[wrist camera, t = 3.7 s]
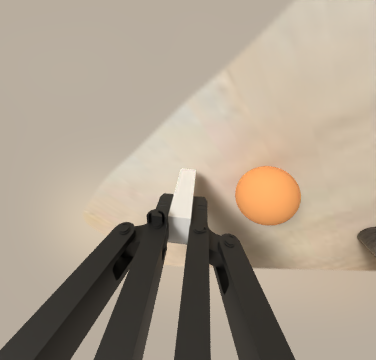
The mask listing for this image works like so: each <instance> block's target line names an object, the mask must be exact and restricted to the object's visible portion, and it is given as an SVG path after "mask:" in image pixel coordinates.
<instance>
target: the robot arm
mask: <svg viewBox="0 0 376 360" xmlns="http://www.w3.org/2000/svg"><path fill="white" fill-rule="evenodd" d="M195 174H196V170H193V169H184V168H181V170H180V174H179V178H178V181H177V185H176V189H175V192H174V194H166V193H164V194H163V195H162V196H161V197H160V199H159V202H158V204H157V207H156V209H154V210H151V211H150V212H148V214H147V224H145V225H141V226H134V225H133V224H132V223H129V222H124V223H121V224H119V225H117V226H116V227H115V228H114V229H113V230H112V231H111V232H110V234H109V235H108V236H107V237H106V238H105V239H104V240H103V241H102V242H101V243H100V244H99V245H98V246H97V248H96V249H95V250H94V251H93V252H92V253H91V254H90V255H89V256H88V257H87V258H86V259H85V260H84V261H83V263H81V265H80V266H79V267H78V268H77V269H76V270H75V271H74V272H73V273H72V274H71V275H70V276H69V277H68V278H67V279H66V281H65V282H64V283H63V284H62V285H61V286H60V287H59V288H58V289H57V290H56V291H55V292H54V294H52V296H51V297H50V298H49V299H48V300H47V301H46V302H45V303H44V304H43V305H42V306H41V307H40V308H39V310H38V311H37V312H36V313H35V314H34V315H33V316H32V317H31V318H30V319H29V320H28V321H27V322H26V323H25V324H24V325H23V326H22V328H21V329H20V330H19V331H18V332H17V333H16V334H15V335H14V336H13V337H12V338H11V339H10V340H9V342H7V344H6V345H5V346H4V347H3V348H2V349H1V350H0V360H70V359H71V358H72V356H73V355H74V353H75V352H76V350H77V348H78V347H79V345H80V344H81V342H82V341H83V339H84V338H85V336H86V335H87V333H88V332H89V330H90V328H91V327H92V325H93V324H94V322H95V321H96V319H97V318H98V316H99V315H100V313H101V312H102V310H103V309H104V307H105V306H106V304H107V302H108V301H109V300H110V298H111V296H112V295H113V293H114V292H115V290H116V289H117V287H118V286H119V284H120V283H121V281H122V280H123V278H124V277H125V275H126V273H127V272H128V270H129V272H128V274H127V277H126V279H125V282H124V284H123V287H122V289H121V292H120V295H119V297H118V300H117V302H116V305H115V307H114V310H113V312H112V315H111V318H110V320H109V322H108V325H107V328H106V330H105V333H104V335H103V338H102V340H101V343H100V345H99V348H98V350H97V353H96V355H95V358H94V360H142V358H143V354H144V349H145V345H146V340H147V336H148V331H149V327H150V322H151V318H152V313H153V309H154V304H155V300H156V295H157V291H158V287H159V282H160V278H161V273H162V268H163V264H164V260H165V255H166V251H167V242H171V243H179V244H187V251H186V260H185V269H184V277H183V286H182V295H181V304H180V312H179V321H178V330H177V339H176V348H175V357H174V360H211V355H210V292H209V291H210V288H209V264H211V265H213V267H214V271H215V275H216V278H217V282H218V285H219V289H220V293H221V296H222V300H223V303H224V307H225V310H226V314H227V318H228V322H229V325H230V329H231V333H232V336H233V340H234V343H235V347H236V350H237V355H238V358H239V360H295V358H294V356H293V354H292V352H291V349H290V347H289V345H288V343H287V341H286V339H285V337H284V335H283V333H282V330H281V328H280V326H279V324H278V322H277V320H276V318H275V316H274V314H273V311H272V309H271V307H270V305H269V303H268V301H267V299H266V297H265V294H264V292H263V290H262V288H261V286H260V284H259V282H258V280H257V278H256V275H255V273H254V271H253V269H252V267H251V265H250V263H249V260H248V258H247V256H246V254H245V252H244V250H243V248H242V246H241V244H240V241H239V240H238V239H237V238H236V237H235V236H234V235H231V234H223V235H222V236H220V235H217V234H215V233H213V232H212V231H211V230H210V229H209V228H208V224H207V200H206V199H205V197H196V196H193V193H194V184H195Z"/></svg>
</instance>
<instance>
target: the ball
mask: <svg viewBox="0 0 376 360" xmlns="http://www.w3.org/2000/svg"><path fill="white" fill-rule="evenodd" d="M235 197H236V202H237V205H238V207H239V209H240V211H241V212H242V213H243V214H244V215H245V216H246V217H247V218H248V219H250V220H251V221H253V222H255V223H258V224H262V225H277V224H281V223H283V222H285V221H287V220H289V219H290V218H291V217H292V216H293V215H294V214H295V213H296V211H297V210H298V208H299V205H300V201H301V193H300V189H299V186H298V184H297V182H296V181H295V180H294V178H293V177H292V176H291V175H290V174H288V173H287V172H285V171H284V170H282V169H279V168H276V167H270V166H263V167H258V168H255V169H252V170H250V171H249V172H247V173H246V174H245V175H243V177H242V178H241V179H240V180H239V182H238V184H237V187H236V193H235Z"/></svg>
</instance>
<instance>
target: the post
mask: <svg viewBox="0 0 376 360" xmlns="http://www.w3.org/2000/svg"><path fill="white" fill-rule="evenodd" d="M357 237H358V239H359V240H360V241H361V242H362V243H363V244H364V245H365V246H366V247H367V248H368V250H369V251H370V252H371V253H372V254H373V255H374V256H375V257H376V227H371V228H367V229H365V230H363V231H361V232H360V233H359V234H358V236H357Z"/></svg>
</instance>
